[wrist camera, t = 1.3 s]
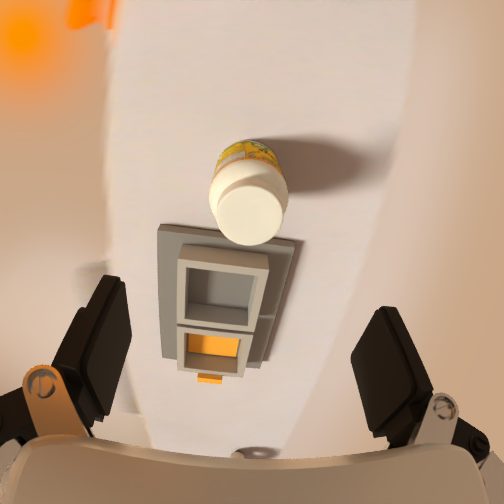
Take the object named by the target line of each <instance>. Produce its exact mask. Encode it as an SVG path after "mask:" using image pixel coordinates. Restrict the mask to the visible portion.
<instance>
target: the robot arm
mask: <svg viewBox="0 0 504 504" xmlns="http://www.w3.org/2000/svg"><path fill="white" fill-rule="evenodd" d="M131 338H132V331H131V325H130V318H129V311H128V304H127V296H126V288H125V283H124V282H122V281H121V280H120V277H117V276H110V275H103V277H102V278H101V280H100V282H99V284H98V286H97V288H96V289H95V291H94V293H93V295H92V297H91V299H90V301H89V303H88V304H87V306H86V308H85V307H81V308H79V310H78V311H77V313H76V315H75V317H74V319H73V321H72V323H71V325H70V327H69V329H68V331H67V333H66V335H65V337H64V339H63V341H62V343H61V345H60V347H59V349H58V351H57V353H56V356H55V358H54V360H53V362H52V364H51V366H49V365H38V366H35V367H33V368H31V369H30V370H29V371H28V372H27V373H26V375H25V377H24V379H23V384H22V386H23V387H20V388H18V389H16V390H14V391H11V392H9V393H7V394H4V395H3V396H0V482H1V477H2V475H3V474H4V473H5V472H6V471H7V470H8V467H7V466H8V465H9V464H10V463H11V462H12V461H14V463H13V466H12V468H11V471H10V474H9V477H8V480H7V483H6V487H5V492H3V490H2V488H1V483H0V504H504V463H503V462H502V461H501V460H500V459H499V458H498V456H497V455H496V454H495V453H494V452H493V451H491V452H489V449H490V445H489V441H488V438H487V437H486V435H485V434H484V433H482V432H481V431H479V430H478V429H476V428H475V427H473V426H471V425H470V424H469V423H467V422H465V421H464V420H462V419H461V418H459V417H458V414H459V411H458V406H457V404H456V402H455V401H454V399H453V398H452V397H450V396H449V395H447V394H445V393H436V394H435V395H433V393H432V391H433V390H434V389H433V387H432V384H431V382H430V379H429V377H428V374H427V372H426V370H425V367H424V365H423V363H422V361H421V358H420V356H419V354H418V352H417V350H416V347H415V345H414V344H413V341H412V339H411V337H410V334H409V332H408V330H407V328H406V326H405V324H404V322H403V320H402V318H401V316H400V314H399V312H398V310H397V308H396V307H389V306H382V307H380V308H379V310H376V311H375V313H374V315H373V317H372V318H371V320H370V322H369V324H368V326H367V327H366V329H365V331H364V333H363V335H362V336H361V338H360V340H359V342H358V343H357V345H356V347H355V349H354V350H353V352H352V354H351V364H352V367H353V371H354V374H355V378H356V381H357V385H358V389H359V393H360V396H361V400H362V404H363V408H364V412H365V416H366V420H367V424H368V428H369V430H370V431H371V432H373V437H374V438H377V437H384V436H386V437H387V442H386V444H385V446H384V448H383V450H381V451H374V452H367V453H360V454H352V455H343V456H333V457H320V458H304V459H241V458H223V457H210V456H200V455H191V454H183V453H175V452H169V451H162V450H156V449H150V448H143V447H138V446H133V445H128V444H123V443H118V442H114V441H108V440H103V439H98V438H96V437H95V436H94V434H93V432H92V430H91V427H92V426H93V424H94V420H96V421H100V422H103V419H104V415H106V416H108V415H109V414H110V410H111V407H112V403H113V399H114V396H115V392H116V389H117V385H118V382H119V378H120V375H121V371H122V368H123V365H124V362H125V358H126V355H127V352H128V349H129V346H130V343H131Z"/></svg>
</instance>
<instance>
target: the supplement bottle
mask: <svg viewBox="0 0 504 504" xmlns="http://www.w3.org/2000/svg"><path fill="white" fill-rule="evenodd" d="M209 202H210V207H211V210H212V212H213V214H214V216H215V217H216V219H217V224H218V227H219V229H220V230H221V232H222V233H223V234H224V235H225V236H226V237H227V238H228V239H229V240H231V241H233V242H235V243H237V244H241V245H247V246H251V245H258V244H262V243H264V242H266V241H268V240H270V239H271V238H273V237H274V236H275V235H276V233H277V232H278V231H279V229H280V228H281V225H282V222H283V216H284V213H285V211H286V208H287V205H288V189H287V185H286V182H285V179H284V176H283V174H282V171H281V169H280V166H279V163H278V161H277V158H276V157H275V155H274V153H273V152H272V151H271V150H270V149H269V148H268V147H267V146H265V145H263V144H261V143H258V142H255V141H251V140H243V141H238V142H236V143H233V144H231V145H230V146H228V147H227V148H226V149H225V150H224V151H223V152H222V154H221V155H220V157H219V159H218V161H217V165H216V168H215V171H214V175H213V179H212V182H211V186H210V191H209Z"/></svg>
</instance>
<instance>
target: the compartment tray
mask: <svg viewBox="0 0 504 504" xmlns="http://www.w3.org/2000/svg"><path fill="white" fill-rule="evenodd" d="M294 250H295V245H294V241H289V240H281V239H274V238H271V239H270V240H268V241H266V242H264V243H262V244H258V245H251V246H247V245H241V244H237V243H235V242H233V241H231V240H229V239H228V238H227V237H226V236H225V235H224V234H223V233H222V232H220V231H212V230H204V229H196V228H188V227H179V226H171V225H163V224H160V226H159V228H158V230H157V258H158V297H159V318H160V334H161V348H162V358H169V359H176V360H177V364H178V370H180V371H187V372H195V373H198V379H197V382H204V383H213V384H222V376H231V377H243V375H244V371H245V367H247V368H260V367H261V363H262V360H263V357H264V354H265V350H266V347H267V344H268V341H269V337H270V334H271V331H272V327H273V324H274V320H275V317H276V314H277V310H278V307H279V303H280V300H281V296H282V293H283V289H284V286H285V282H286V279H287V275H288V272H289V268H290V264H291V261H292V257H293V253H294Z"/></svg>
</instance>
